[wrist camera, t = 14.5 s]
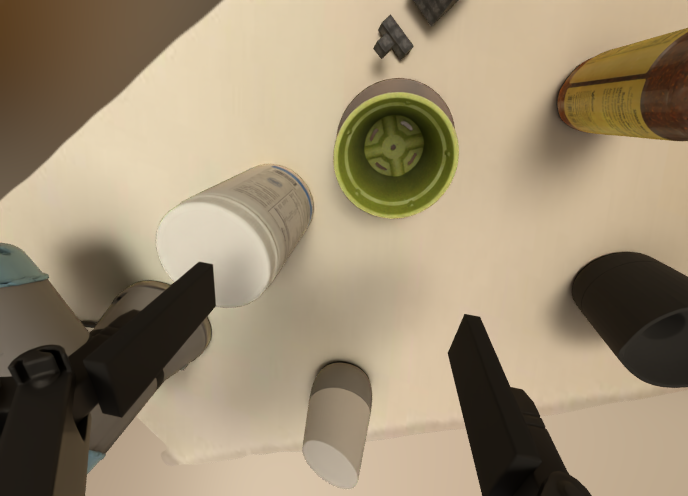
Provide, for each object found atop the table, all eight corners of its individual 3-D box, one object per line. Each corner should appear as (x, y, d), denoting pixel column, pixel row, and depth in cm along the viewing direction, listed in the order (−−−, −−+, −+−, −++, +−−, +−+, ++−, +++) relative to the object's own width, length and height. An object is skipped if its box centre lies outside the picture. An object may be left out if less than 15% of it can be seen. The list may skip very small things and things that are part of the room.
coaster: (329, 188, 34) (328, 189, 33) (347, 67, 28) (346, 67, 28) (433, 210, 33) (433, 212, 33) (472, 91, 27) (474, 91, 27)
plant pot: (377, 74, 28) (371, 64, 20) (461, 126, 28) (486, 135, 21) (333, 163, 32) (313, 183, 24) (407, 205, 33) (411, 238, 25)
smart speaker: (316, 351, 46) (287, 444, 33) (375, 360, 45) (369, 460, 32) (316, 392, 50) (291, 488, 38) (371, 401, 49) (363, 502, 37)
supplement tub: (252, 241, 38) (180, 313, 25) (228, 168, 34) (128, 209, 21) (323, 234, 36) (284, 308, 23) (306, 155, 32) (248, 193, 19)
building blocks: (482, -28, 22) (406, 46, 21) (443, 18, 27) (382, 78, 27) (456, -69, 21) (377, 7, 21) (421, -13, 26) (358, 48, 26)
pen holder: (552, 308, 36) (603, 375, 27) (590, 240, 32) (665, 294, 23) (633, 322, 35) (712, 396, 27) (683, 255, 31) (798, 316, 22)
